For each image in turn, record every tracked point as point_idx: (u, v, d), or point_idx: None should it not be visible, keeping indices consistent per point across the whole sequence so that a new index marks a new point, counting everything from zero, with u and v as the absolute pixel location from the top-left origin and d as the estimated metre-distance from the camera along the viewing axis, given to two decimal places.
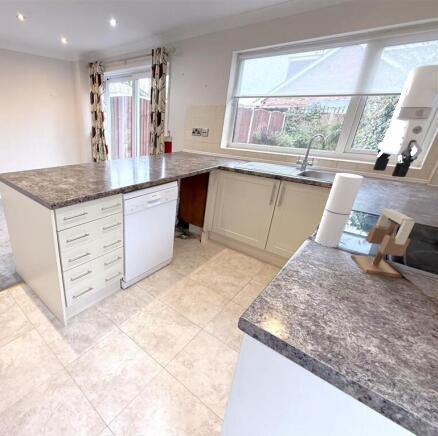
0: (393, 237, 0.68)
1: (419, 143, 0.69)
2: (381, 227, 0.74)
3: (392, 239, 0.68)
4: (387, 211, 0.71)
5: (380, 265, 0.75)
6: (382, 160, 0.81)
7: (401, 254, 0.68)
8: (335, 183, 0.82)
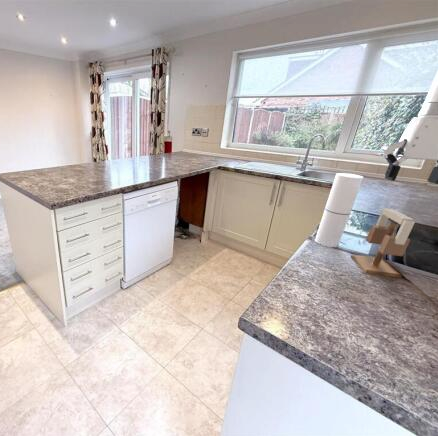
0: (393, 237, 0.68)
1: None
2: (381, 227, 0.74)
3: (392, 239, 0.68)
4: (387, 211, 0.71)
5: (380, 265, 0.75)
6: None
7: (401, 254, 0.68)
8: (335, 183, 0.82)
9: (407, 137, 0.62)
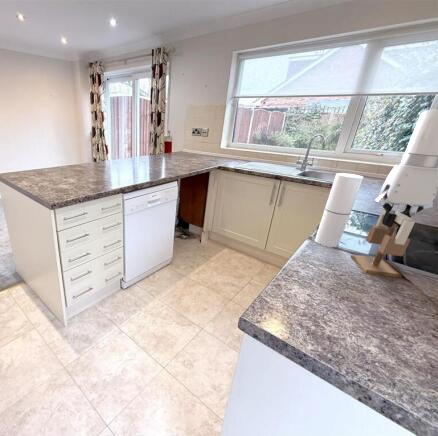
0: (393, 237, 0.68)
1: None
2: (381, 227, 0.74)
3: (392, 239, 0.68)
4: None
5: (380, 265, 0.75)
6: None
7: (401, 254, 0.68)
8: (335, 183, 0.82)
9: (390, 183, 0.66)
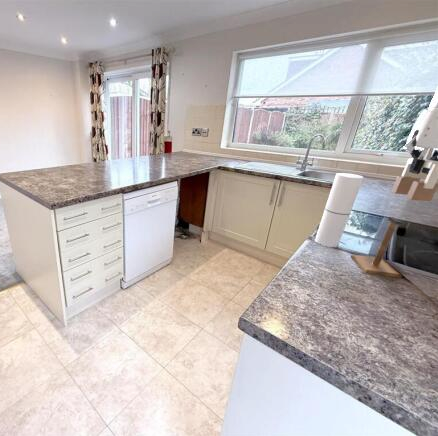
0: (422, 182, 0.69)
1: None
2: (407, 177, 0.76)
3: (421, 184, 0.69)
4: None
5: (380, 265, 0.75)
6: None
7: (429, 199, 0.70)
8: (335, 183, 0.82)
9: (419, 128, 0.68)
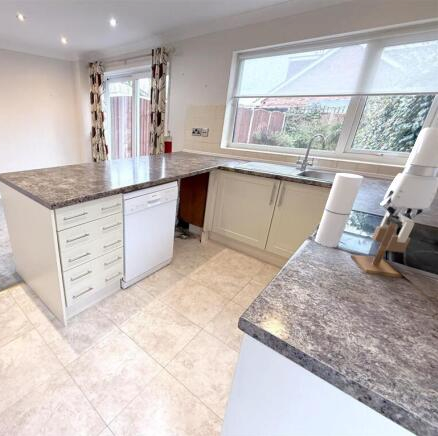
0: (396, 236, 0.78)
1: None
2: (385, 227, 0.84)
3: (395, 238, 0.78)
4: None
5: (380, 265, 0.75)
6: None
7: (402, 251, 0.79)
8: (335, 183, 0.82)
9: (393, 189, 0.77)
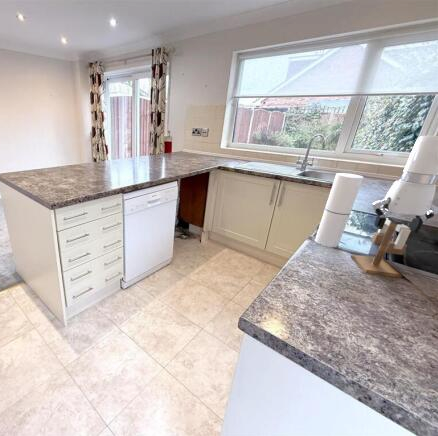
0: (392, 243, 0.79)
1: None
2: (382, 234, 0.85)
3: (392, 244, 0.79)
4: (387, 220, 0.83)
5: (380, 265, 0.75)
6: None
7: None
8: (335, 183, 0.82)
9: (391, 196, 0.78)
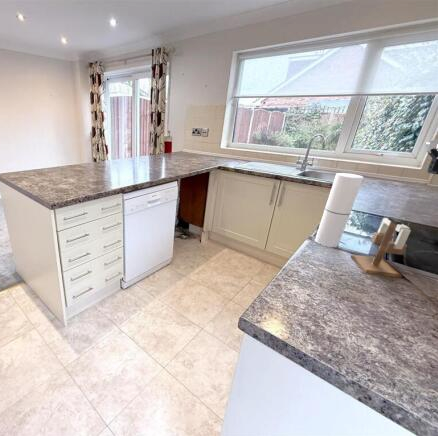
0: (392, 243, 0.79)
1: None
2: (382, 234, 0.85)
3: (392, 244, 0.79)
4: (387, 220, 0.83)
5: (380, 265, 0.75)
6: None
7: None
8: (335, 183, 0.82)
9: None
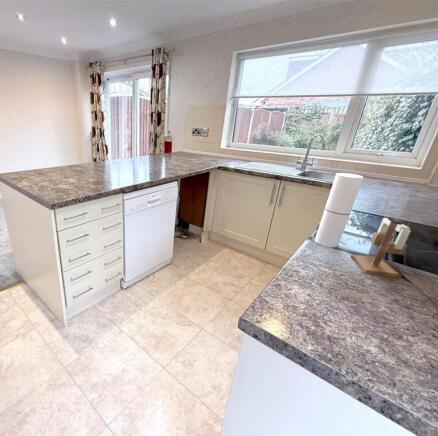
0: (392, 243, 0.79)
1: None
2: (382, 234, 0.85)
3: (392, 244, 0.79)
4: (387, 220, 0.83)
5: (380, 265, 0.75)
6: None
7: None
8: (335, 183, 0.82)
9: None
